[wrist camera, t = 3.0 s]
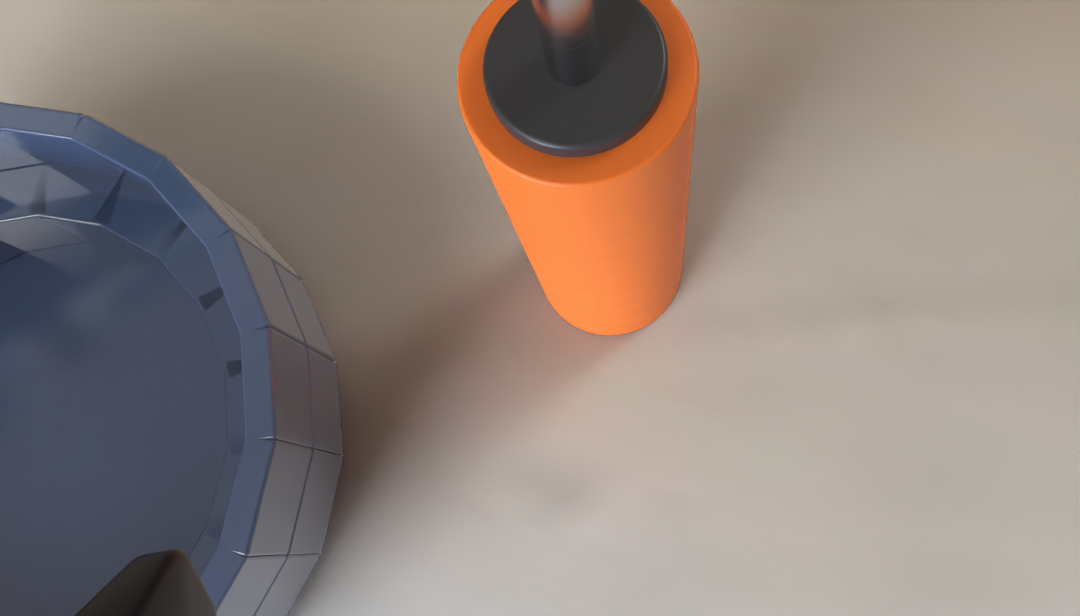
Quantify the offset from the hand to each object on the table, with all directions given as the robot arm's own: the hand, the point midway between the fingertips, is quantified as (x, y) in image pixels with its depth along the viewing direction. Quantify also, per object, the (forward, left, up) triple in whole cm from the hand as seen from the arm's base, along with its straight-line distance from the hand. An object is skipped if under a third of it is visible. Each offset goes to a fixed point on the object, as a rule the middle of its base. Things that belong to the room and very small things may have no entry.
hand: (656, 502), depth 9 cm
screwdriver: (+4, +4, -12) cm, 13 cm away
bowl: (-5, +13, -12) cm, 18 cm away
